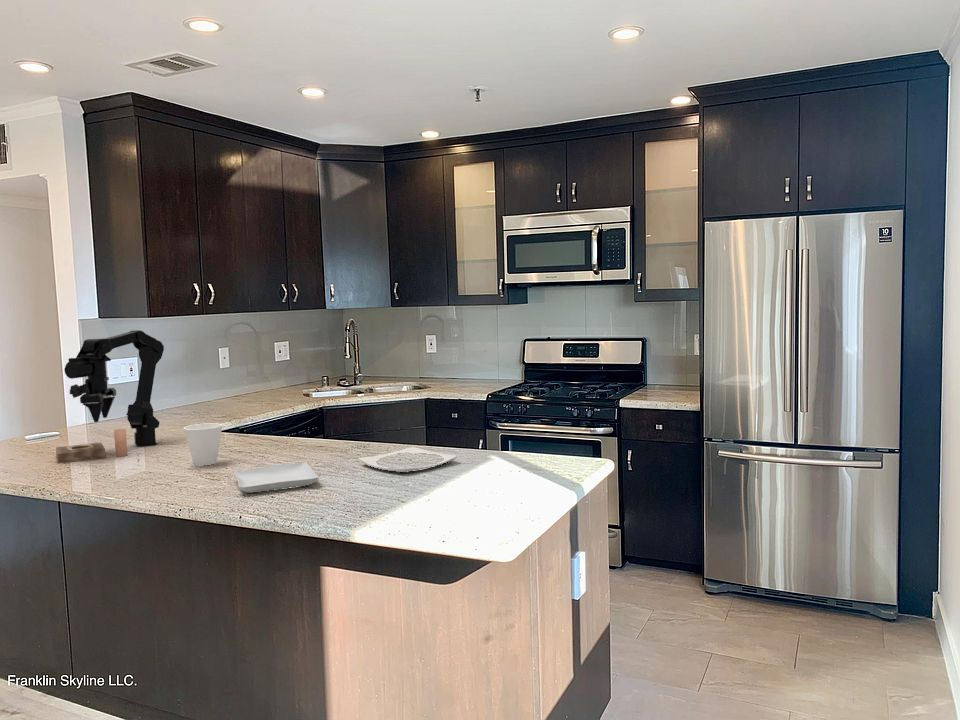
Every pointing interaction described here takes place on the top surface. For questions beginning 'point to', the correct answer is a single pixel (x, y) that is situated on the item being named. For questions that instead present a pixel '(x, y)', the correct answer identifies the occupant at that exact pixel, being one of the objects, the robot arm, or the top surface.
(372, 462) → the plate
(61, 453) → the socket block
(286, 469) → the salad plate
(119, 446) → the peg
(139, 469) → the top surface
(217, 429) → the cup
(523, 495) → the top surface
